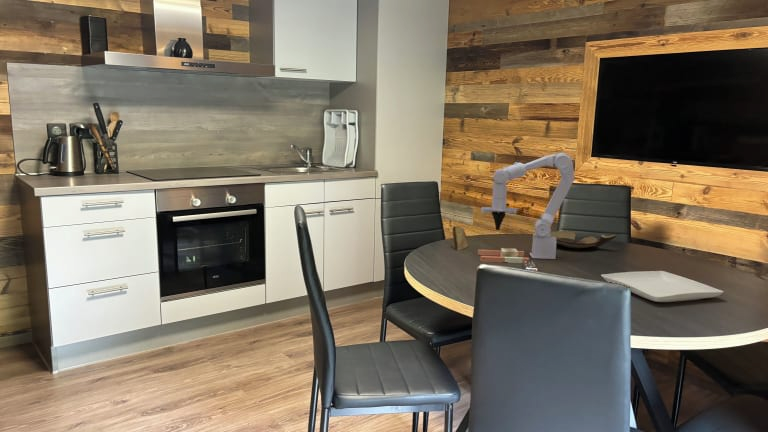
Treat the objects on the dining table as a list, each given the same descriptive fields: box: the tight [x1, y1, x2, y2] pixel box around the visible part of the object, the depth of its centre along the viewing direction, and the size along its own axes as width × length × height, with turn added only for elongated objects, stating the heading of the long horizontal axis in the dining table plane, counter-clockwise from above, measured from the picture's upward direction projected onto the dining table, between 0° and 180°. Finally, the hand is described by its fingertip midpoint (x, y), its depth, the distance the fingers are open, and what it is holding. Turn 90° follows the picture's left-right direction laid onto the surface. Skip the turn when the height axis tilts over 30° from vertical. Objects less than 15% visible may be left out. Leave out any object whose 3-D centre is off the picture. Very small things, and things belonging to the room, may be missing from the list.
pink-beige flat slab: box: [477, 249, 530, 264], centre depth 231 cm, size 19×13×2 cm
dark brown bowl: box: [549, 230, 617, 249], centre depth 254 cm, size 22×30×8 cm
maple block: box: [500, 247, 519, 257], centre depth 231 cm, size 6×6×4 cm
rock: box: [452, 225, 470, 251], centre depth 249 cm, size 11×9×10 cm
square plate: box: [600, 270, 725, 303], centre depth 190 cm, size 27×27×4 cm
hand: (497, 229), depth 238 cm, fingers closed
